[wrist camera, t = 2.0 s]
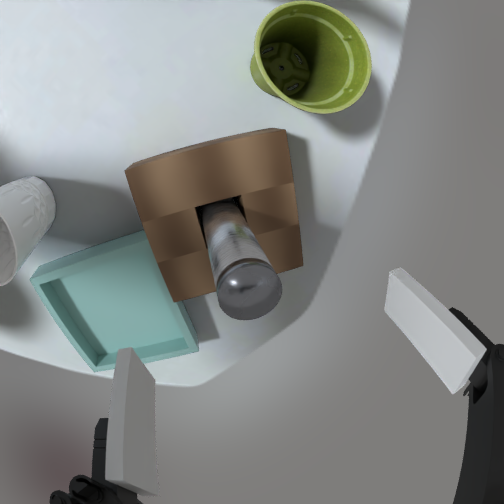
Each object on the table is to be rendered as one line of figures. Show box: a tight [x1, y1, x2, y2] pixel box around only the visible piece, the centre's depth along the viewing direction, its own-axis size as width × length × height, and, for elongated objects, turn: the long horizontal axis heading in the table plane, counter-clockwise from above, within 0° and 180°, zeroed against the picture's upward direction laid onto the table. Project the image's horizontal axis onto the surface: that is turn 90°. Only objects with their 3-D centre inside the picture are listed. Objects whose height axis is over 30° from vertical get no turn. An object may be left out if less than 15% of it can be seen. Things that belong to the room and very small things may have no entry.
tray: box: [30, 230, 199, 372], centre depth 29 cm, size 16×16×3 cm
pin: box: [201, 197, 282, 320], centre depth 22 cm, size 4×4×15 cm
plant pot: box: [250, 0, 372, 114], centre depth 19 cm, size 9×9×9 cm
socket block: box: [125, 128, 303, 303], centre depth 26 cm, size 14×14×4 cm
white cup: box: [0, 176, 56, 286], centre depth 18 cm, size 8×8×10 cm
